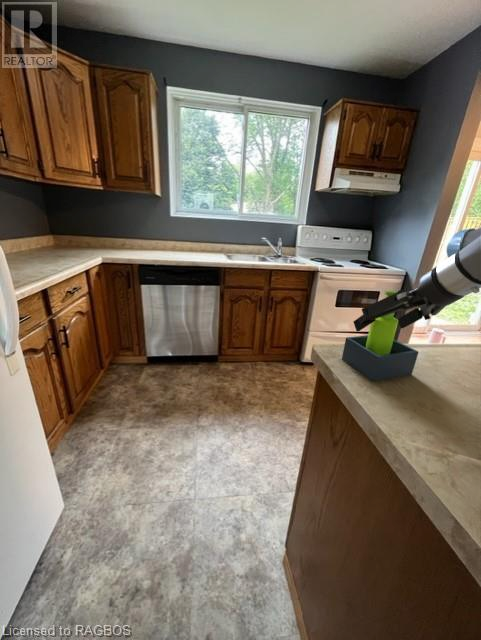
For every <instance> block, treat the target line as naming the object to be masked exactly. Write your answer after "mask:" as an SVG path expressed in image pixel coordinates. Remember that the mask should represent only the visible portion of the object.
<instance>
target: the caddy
mask: <svg viewBox="0 0 481 640" xmlns="http://www.w3.org/2000/svg"><path fill="white" fill-rule="evenodd" d="M367 338H368V334H365V335H358V336H357V335H355V336H348V337H345V341H344V346H343V350H342V354H341V355H342V356H341V360H342V361H343V362H345V363H346V364H348V365H349V366H351V367H352V368H354V369H355V370H356V371H358V373H360V374H361V375H363V376H364V377H366V378H367V379H369V380H370V381H371V382H378V381H383V380H389V379H395V378H401V377H406V376H407V377H408V376H412V375H413V373H414V369H415V365H416V363H417V362H416V361H417V359H418V355H419V350H416V349H414V348H412V347H411V346H408V345H406V344H404V343H402V342H400V341H398V340H396V339H394V340H393V344H392V347H391V351H390V354H386V355H377V354H375V353H374V352H372V351H370V350H369V349H367V348H365V347H366V343H367Z"/></svg>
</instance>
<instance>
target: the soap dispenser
mask: <svg viewBox="0 0 481 640" xmlns="http://www.w3.org/2000/svg"><path fill="white" fill-rule="evenodd" d="M398 291H399V290H398ZM398 291H397V290H384V295H385V296H386V297H389V296H391V295H393V294H395V293H396V292H398ZM395 313H396V312H394V313H391V314H388V315H385V316H382V317H379V318H376V319H375V320H376V321H374V322H373V323H371V324H370V325H369V330H368V334H367V335H368V338H367V343H366V347H365V348H367V349H369V350H370V351H372V352H374V353H375V354H377V355H386V354H390V351H391V347H392V344H393V340H395V335H396V332H397V328H398V325H399V323H398V318H396V317H395Z"/></svg>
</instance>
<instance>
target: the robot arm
mask: <svg viewBox="0 0 481 640" xmlns="http://www.w3.org/2000/svg"><path fill="white" fill-rule="evenodd" d="M446 256H447V257H448V258H446V259H444V260H443V261H441V262H440V263H439V264H438V265H437V266H435V267H433V268H432V269H431V270H429V271H428V272H426V273H425V274H424V275H422V276H421V277H420V279H419V281H418V286H417V287H416V288H412V289H411V290H409V291H406V288H402V289H399V290H398V292H396V293H395V294H393V295H391V296H389V297H387V296H386V297H385V298H382V299H380V300H378V301H375V302H373V303H371V304H369V305H367V306H365V307H363V308H361V312H362V315H360V316H359V317H357V318H356V319H355V320H353V324H354V328H355V331H356V332H360V331H362V330H363V329H365V328H367V327H369V326H370V325H371V323H373V322H374V321H376V320H375V319H376V318H379V317H382V316H385V315H388V314H391V313H394V312H395V313H398V312H400V311H403V312H407V311H409V312H407V313H405V314H403V315H402V316H400V317H399V318H397V319H398V325H399V327H400V329H405V328H407V327H408V326H410V325H412V324H414V323H416V322H418V321H420V320H422V319H423V318H424V320H425V321H428V320H430V319H431V316H436V315H438V314H439V313H440V312H441V311H443V309H444V308H446V307H448V306H450V305H452V304H453V303H457V301H459V300H461V299H464V297H465V296H469V295H470V294H472V293H473V294H478V293H479V292H480V291H481V290H480V289H481V226H480V227H479V228H474V227H473V228H469V229H461V230H459V231H457V232H455V233H454V234H453V235H452V236H451V237H450V239H449V240H448V242H447V245H446ZM406 304H407V305H406ZM395 313H394V314H395ZM430 315H431V316H430Z"/></svg>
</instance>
